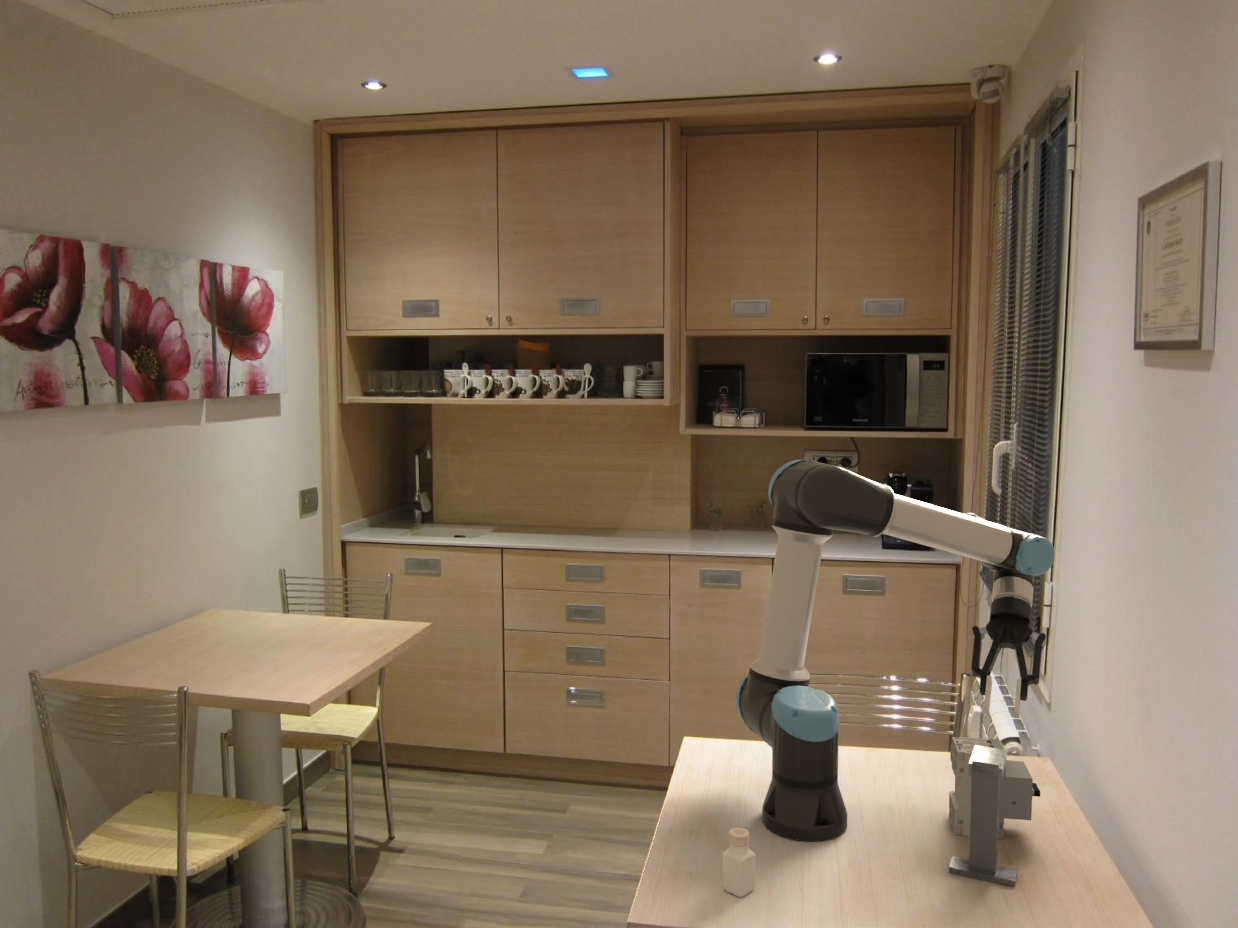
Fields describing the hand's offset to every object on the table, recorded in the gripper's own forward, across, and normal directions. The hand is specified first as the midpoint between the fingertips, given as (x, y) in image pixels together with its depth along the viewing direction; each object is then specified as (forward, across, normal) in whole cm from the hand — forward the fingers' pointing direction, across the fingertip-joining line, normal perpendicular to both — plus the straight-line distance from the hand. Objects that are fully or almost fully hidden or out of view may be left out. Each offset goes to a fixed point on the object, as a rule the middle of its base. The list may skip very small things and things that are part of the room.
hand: (1001, 712), depth 180 cm
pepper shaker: (+47, +34, +21) cm, 62 cm away
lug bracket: (+30, 0, +4) cm, 30 cm away
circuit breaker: (+20, 0, -6) cm, 21 cm away
